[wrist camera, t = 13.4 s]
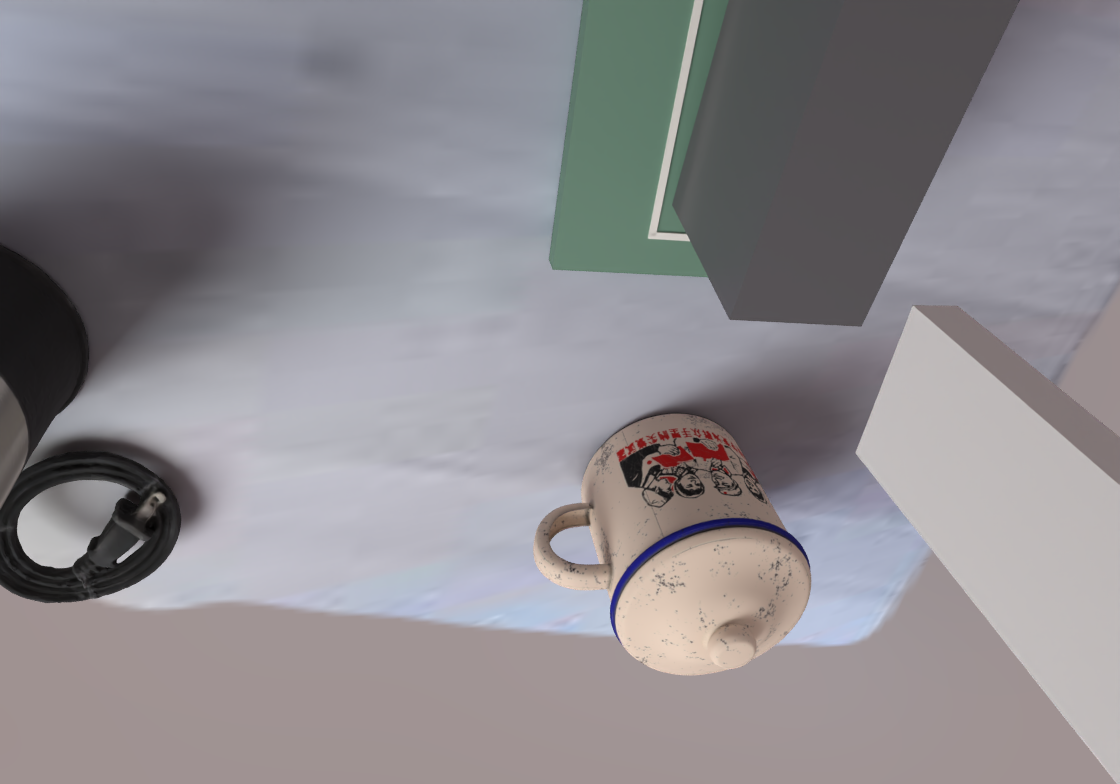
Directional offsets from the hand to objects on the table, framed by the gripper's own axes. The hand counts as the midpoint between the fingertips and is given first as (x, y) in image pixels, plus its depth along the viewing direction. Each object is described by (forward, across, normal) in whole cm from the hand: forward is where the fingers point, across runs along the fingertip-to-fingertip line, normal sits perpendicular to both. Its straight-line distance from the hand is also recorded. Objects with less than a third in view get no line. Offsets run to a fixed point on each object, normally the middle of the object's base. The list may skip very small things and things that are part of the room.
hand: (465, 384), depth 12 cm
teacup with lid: (+23, +12, -21) cm, 33 cm away
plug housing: (+21, +14, +2) cm, 25 cm away
